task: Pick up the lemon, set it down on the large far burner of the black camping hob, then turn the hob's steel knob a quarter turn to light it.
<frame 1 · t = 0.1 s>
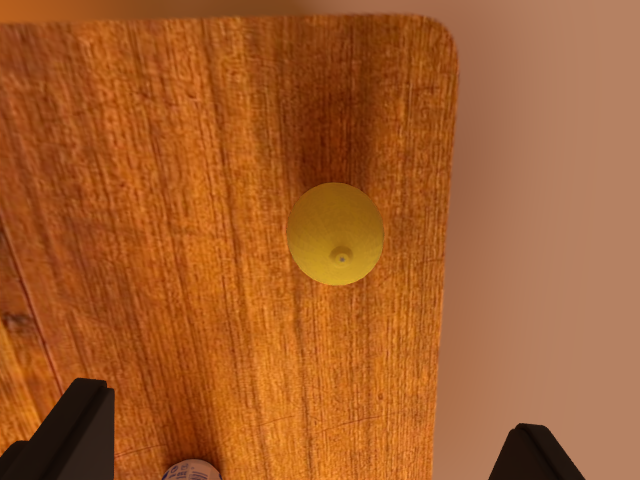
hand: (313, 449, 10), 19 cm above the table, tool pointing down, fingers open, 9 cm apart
beverage can: (195, 473, 35), on the table
lemon: (329, 210, 28), on the table
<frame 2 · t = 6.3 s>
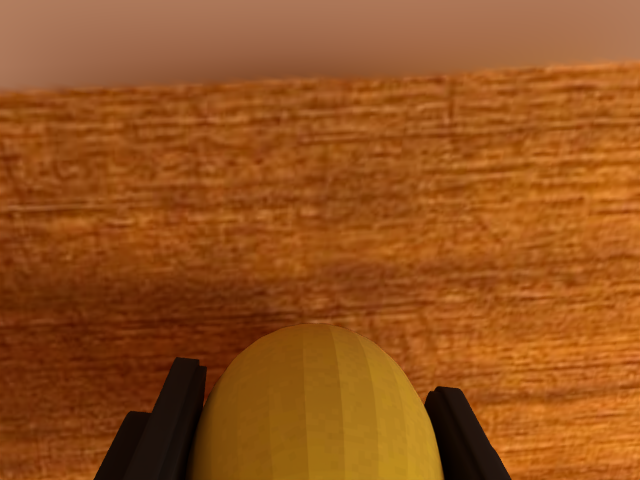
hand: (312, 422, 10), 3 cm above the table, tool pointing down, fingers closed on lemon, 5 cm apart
lemon: (308, 348, 13), on the table, touching gripper
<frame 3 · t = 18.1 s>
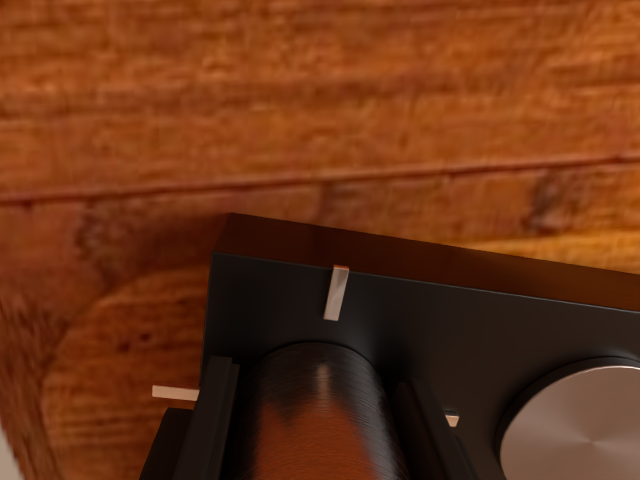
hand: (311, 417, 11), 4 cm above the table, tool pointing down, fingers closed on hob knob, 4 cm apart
hob knob: (314, 476, 9), point 5 cm above the table, hinge at 0.2°, touching gripper
hob: (387, 457, 16), on the table
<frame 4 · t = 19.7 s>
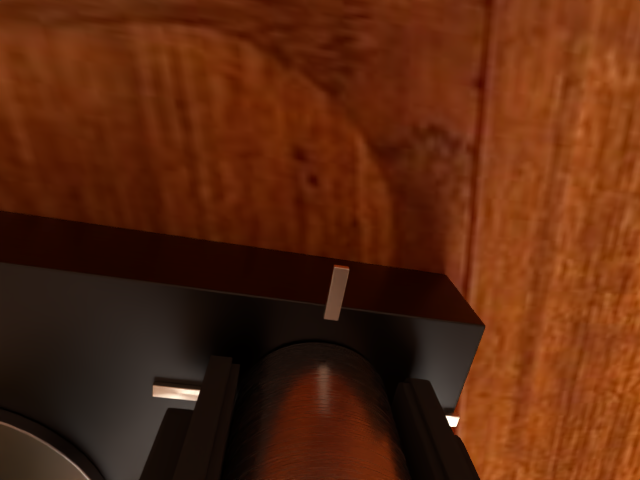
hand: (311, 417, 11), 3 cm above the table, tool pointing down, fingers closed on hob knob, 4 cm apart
burners: (33, 426, 15), resting on hob
hob knob: (315, 476, 9), point 5 cm above the table, hinge at 90.4°, touching gripper
hob: (151, 415, 15), on the table
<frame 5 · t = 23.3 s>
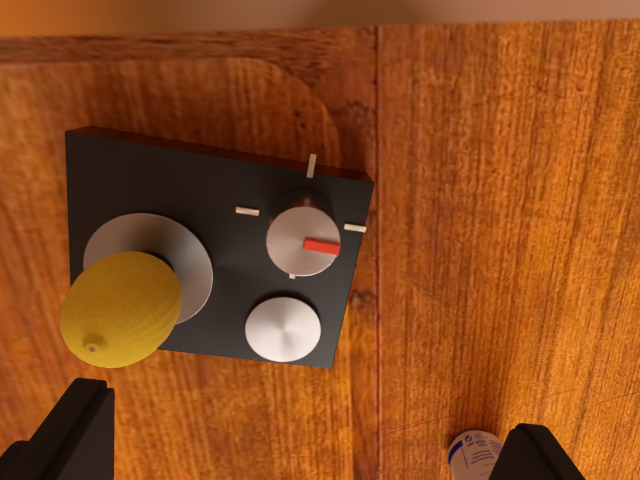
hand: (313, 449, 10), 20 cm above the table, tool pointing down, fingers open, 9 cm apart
beverage can: (470, 444, 38), on the table
lemon: (151, 271, 26), point 3 cm above the table, touching burners
burners: (164, 252, 29), resting on hob
hob knob: (302, 231, 24), point 5 cm above the table, hinge at 88.3°
hob: (223, 247, 29), on the table
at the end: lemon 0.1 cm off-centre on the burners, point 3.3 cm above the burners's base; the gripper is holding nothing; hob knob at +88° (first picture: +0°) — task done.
